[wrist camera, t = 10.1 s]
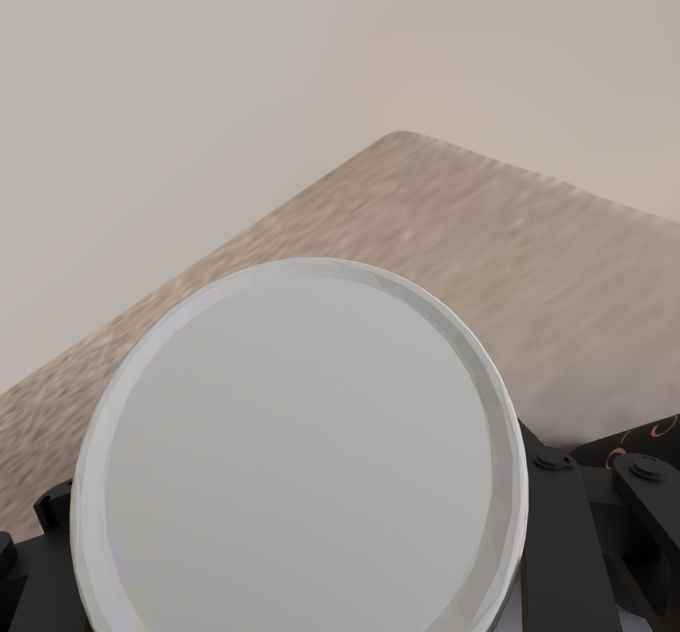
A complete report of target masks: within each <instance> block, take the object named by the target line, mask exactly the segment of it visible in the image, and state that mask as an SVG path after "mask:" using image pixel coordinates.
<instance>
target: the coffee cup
mask: <svg viewBox="0 0 680 632" xmlns="http://www.w3.org/2000/svg"><path fill="white" fill-rule="evenodd" d="M527 518H528V472H527V464H526V455H525V449H524V444H523V440H522V435H521V430H520V426H519V423H518V420H517V417H516V414H515V411H514V408H513V405H512V402H511V400H510V397H509V395H508V392H507V390H506V387H505V385H504V383H503V380H502V378H501V376H500V373H499V372H498V370H497V368H496V367H495V365H494V363H493V362H492V360H491V358H490V357H489V355H488V353H487V352H486V350H485V349H484V348H483V346H482V345H481V343H480V342H479V340H478V339H477V337H476V336H475V335H474V334H473V333H472V332H471V330H470V329H469V328H468V327H467V326H466V325H465V324H464V323H463V321H462V320H461V319H460V318H459V317H458V316H456V315H455V314H454V313H453V312H452V311H451V310H450V309H449V308H448V307H447V306H446V305H444V304H443V303H442V302H441V301H439V300H438V299H437V298H436V297H434V296H433V295H432V294H430V293H428V292H427V291H425V290H424V289H422V288H421V287H419V286H418V285H416V284H414V283H412V282H410V281H408V280H407V279H405V278H403V277H401V276H399V275H396V274H394V273H391V272H389V271H386V270H384V269H381V268H378V267H374V266H371V265H368V264H365V263H360V262H355V261H350V260H344V259H336V258H329V257H303V258H288V259H282V260H276V261H271V262H266V263H261V264H256V265H253V266H251V267H248V268H245V269H242V270H239V271H236V272H234V273H231V274H228V275H226V276H223V277H221V278H219V279H217V280H215V281H214V282H212V283H210V284H208V285H206V286H204V287H203V288H201V289H199V290H197V291H196V292H194V293H192V294H190V295H189V296H187V297H186V298H185V299H183V300H182V301H181V302H179V303H178V304H177V305H176V306H174V307H173V308H172V309H170V310H169V311H168V312H167V313H165V314H164V315H163V316H162V317H160V318H159V319H158V320H157V321H156V322H155V323H154V324H153V325H152V326H151V327H150V328H149V329H148V330H147V331H146V332H145V333H144V334H143V335H142V337H141V338H140V339H139V340H138V341H137V342H136V343H135V345H134V346H133V347H132V348H131V349H130V350H129V351H128V353H127V354H126V356H125V357H124V359H123V360H122V361H121V363H120V364H119V366H118V367H117V369H116V370H115V372H114V373H113V375H112V377H111V378H110V380H109V382H108V383H107V385H106V386H105V388H104V390H103V391H102V393H101V396H100V398H99V400H98V402H97V404H96V406H95V409H94V411H93V413H92V415H91V418H90V420H89V423H88V425H87V428H86V431H85V433H84V436H83V438H82V442H81V446H80V450H79V454H78V458H77V462H76V467H75V472H74V477H73V482H72V488H71V502H70V546H71V553H72V560H73V568H74V573H75V577H76V582H77V586H78V590H79V594H80V598H81V601H82V603H83V606H84V609H85V611H86V614H87V617H88V619H89V622H90V625H91V627H92V629H93V631H94V632H493V631H494V629H495V627H496V625H497V623H498V621H499V619H500V617H501V615H502V612H503V610H504V608H505V606H506V604H507V602H508V600H509V597H510V594H511V591H512V588H513V585H514V582H515V579H516V576H517V573H518V570H519V566H520V562H521V557H522V552H523V548H524V543H525V538H526V528H527Z"/></svg>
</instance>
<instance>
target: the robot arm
mask: <svg viewBox="0 0 680 632" xmlns="http://www.w3.org/2000/svg"><path fill="white" fill-rule="evenodd" d="M517 420H518V423H519V426H520V430H521V435H522V440H523V444H524V449H525V455H526V464H527V472H528V518H527V528H526V538H525V543H524V548H523V552H522V557H521V562H520V567H521V597H522V627H523V632H623V630H622V626H621V623H620V619H619V615H618V611H617V607H616V604H615V600H614V596H613V592H612V589H611V585H610V581H609V577H608V574H607V570H606V566H605V562H604V558H603V555H602V554H607V555H609V556H610V558H611V559H612V561H613V563H614V565H615V566H616V568H617V570H618V572H619V573H620V575H621V577H622V578H623V580H624V582H625V584H626V585H627V587H628V589H629V591H630V592H631V594H632V596H633V597H634V599H635V601H636V603H637V604H638V606H639V608H640V610H641V611H642V613H643V615H644V617H645V618H646V620H647V622H648V623H649V625H650V627H651V629H652V630H653V632H680V472H679V471H678V470H677V469H675V468H674V467H673V466H671V465H670V464H668V463H666V462H664V461H662V460H659V459H657V458H654V457H651V456H648V455H643V454H635V453H627V454H621V455H619V456H617V457H615V459H614V462H613V469H608V468H598V467H588V466H582V465H578V464H577V462H576V460H575V459H574V458H572V457H571V456H570V455H569V454H567V453H565V452H563V451H561V450H559V449H556V448H552V447H548V446H544V445H543V444H542V443H541V442H540V441H539V439H538V438H537V437H536V436H535V435H534V434H533V433H532V432H531V431H530V430H529V429H528V428H527V427H526V426H525V425H524V424H522V422H521V421H520V420H519V419H518V418H517ZM72 482H73V479H70V480H68V481H65V482H63V483H61V484H58V485H57V486H55V487H53V488H52V489H50V490H49V491H47V492H46V493H45V494H43V495H42V496H41V497H40V498H39V499H38V500H37V501H36V503H35V504H34V505H33V507H34V509H35V512H36V514H37V516H38V519H39V521H40V523H41V526H42V528H43V530H44V534H43V535H41V536H38V537H35V538H32V539H29V540H26V541H23V542H20V543H17V544H14V542H13V540H12V538H11V535H10V533H7V532H4V531H2V532H0V632H94V631H93V629H92V627H91V625H90V622H89V619H88V617H87V614H86V611H85V609H84V606H83V603H82V601H81V598H80V594H79V590H78V586H77V582H76V577H75V573H74V568H73V560H72V553H71V546H70V502H71V488H72Z"/></svg>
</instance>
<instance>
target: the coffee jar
mask: <svg viewBox="0 0 680 632" xmlns="http://www.w3.org/2000/svg"><path fill="white" fill-rule="evenodd" d="M627 453H635V454H643V455H648V456H651V457H654V458H657V459H659V460H662V461H664V462H666V463H668V464H670V465H671V466H673V467H674V468H675V469H677V470H678V471H679V472H680V414H677V415H674V416H671V417H667V418H664V419H661V420H658V421H655V422H652V423H649V424H646V425H643V426H639V427H636V428H633V429H630V430H627V431H624V432H621V433H618V434H614V435H611V436H608V437H605V438H602V439H599V440H596V441H593V442H590V443H588V444H585V445H582V446H579V447H577V448H576V449H575V450H574V451H573V452H572V453H571V454H570V456H571V457H572V458H574V459H575V460H576V462H577V464H578V465H582V466H588V467H598V468H608V469H613V462H614V459H615V457H617V456H619V455H621V454H627ZM602 555H603V558H604V562H605V566H606V570H607V574H608V577H609V581H610V585H611V589H612V592H613V596H614V600H615V603H616V604H618V605H619V606H620V607H622V608H623V609H625V610H626V611H628V612H630V613H633V614H635V615H638V616H640V617H643V618H645V617H644V615H643V613H642V611H641V610H640V608H639V606H638V604H637V603H636V601H635V599H634V597H633V596H632V594H631V592H630V591H629V589H628V587H627V585H626V584H625V582H624V580H623V578H622V577H621V575H620V573H619V572H618V570H617V568H616V566H615V565H614V563H613V561H612V559H611V558H610V556H609V555H607V554H602Z"/></svg>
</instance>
